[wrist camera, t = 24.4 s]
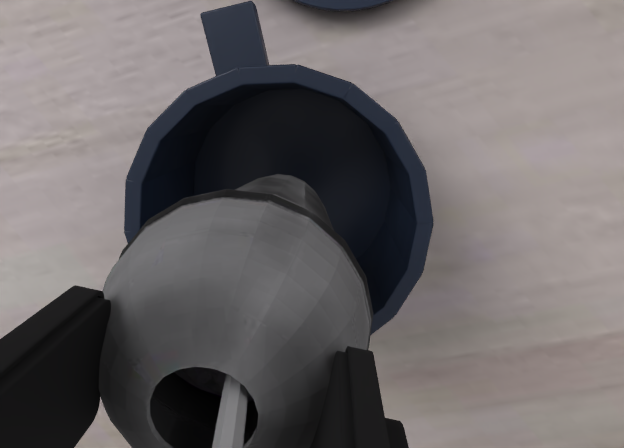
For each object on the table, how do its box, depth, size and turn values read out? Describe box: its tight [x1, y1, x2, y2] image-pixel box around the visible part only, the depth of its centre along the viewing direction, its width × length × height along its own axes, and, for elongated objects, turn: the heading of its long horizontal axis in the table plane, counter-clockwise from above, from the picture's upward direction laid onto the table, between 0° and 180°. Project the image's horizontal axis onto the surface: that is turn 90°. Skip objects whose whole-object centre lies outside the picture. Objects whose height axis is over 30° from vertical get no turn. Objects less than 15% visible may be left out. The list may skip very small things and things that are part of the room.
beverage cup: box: [99, 174, 373, 448], centre depth 14 cm, size 7×7×20 cm
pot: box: [124, 1, 433, 335], centre depth 26 cm, size 15×20×10 cm
